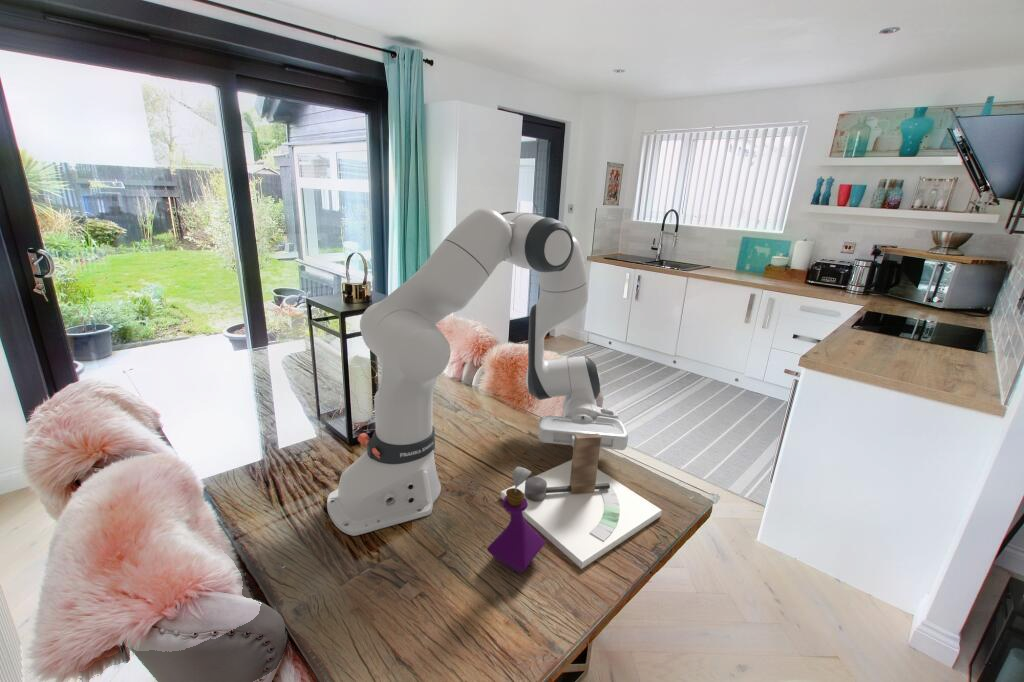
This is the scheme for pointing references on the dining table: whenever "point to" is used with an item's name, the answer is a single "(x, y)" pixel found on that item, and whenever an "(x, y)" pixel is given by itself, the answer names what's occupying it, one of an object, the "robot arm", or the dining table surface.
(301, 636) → the dining table surface
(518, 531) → the perfume bottle
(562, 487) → the lever
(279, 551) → the dining table surface
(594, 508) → the dial board
